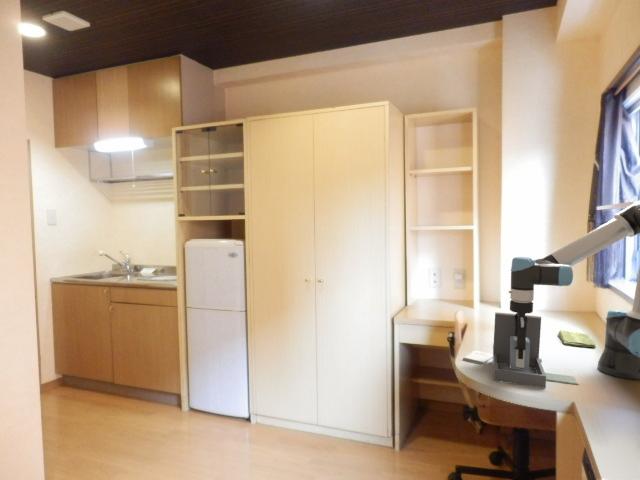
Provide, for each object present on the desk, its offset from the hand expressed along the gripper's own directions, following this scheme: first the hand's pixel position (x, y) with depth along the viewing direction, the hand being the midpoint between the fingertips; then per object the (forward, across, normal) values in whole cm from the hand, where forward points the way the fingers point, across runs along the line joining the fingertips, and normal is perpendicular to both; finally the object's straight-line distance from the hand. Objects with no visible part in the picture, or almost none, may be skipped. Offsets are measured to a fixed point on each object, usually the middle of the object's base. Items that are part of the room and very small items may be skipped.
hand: (519, 363), depth 162 cm
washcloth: (+5, -55, +28) cm, 62 cm away
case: (+4, 0, 0) cm, 4 cm away
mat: (+4, -1, +14) cm, 14 cm away
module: (+1, 0, 0) cm, 1 cm away
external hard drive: (+4, -13, -14) cm, 19 cm away
